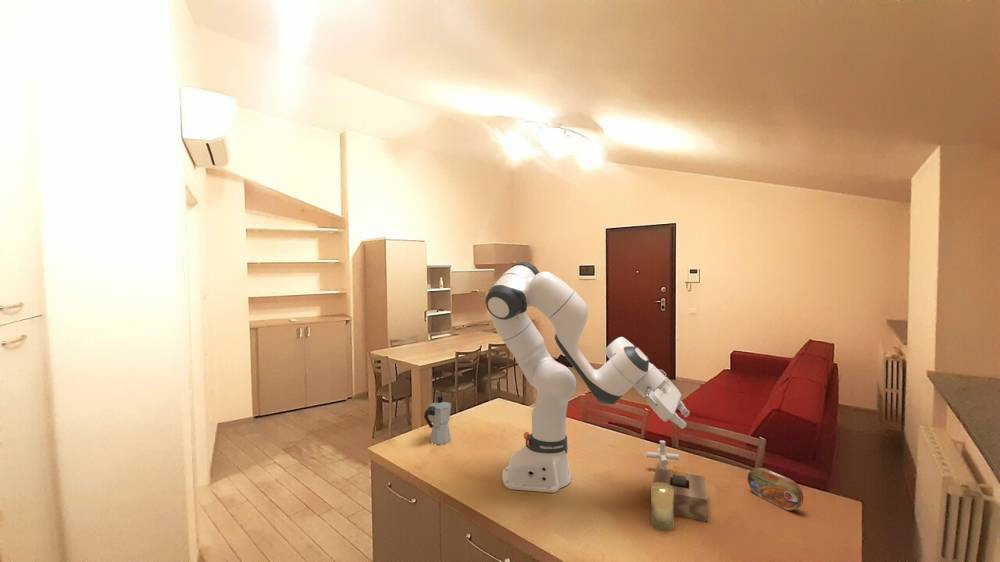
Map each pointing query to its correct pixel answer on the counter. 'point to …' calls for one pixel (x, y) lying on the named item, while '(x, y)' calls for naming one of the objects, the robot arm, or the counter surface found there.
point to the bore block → (687, 494)
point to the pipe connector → (662, 455)
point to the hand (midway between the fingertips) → (686, 420)
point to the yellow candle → (662, 506)
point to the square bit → (679, 476)
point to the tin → (775, 488)
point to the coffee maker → (439, 421)
